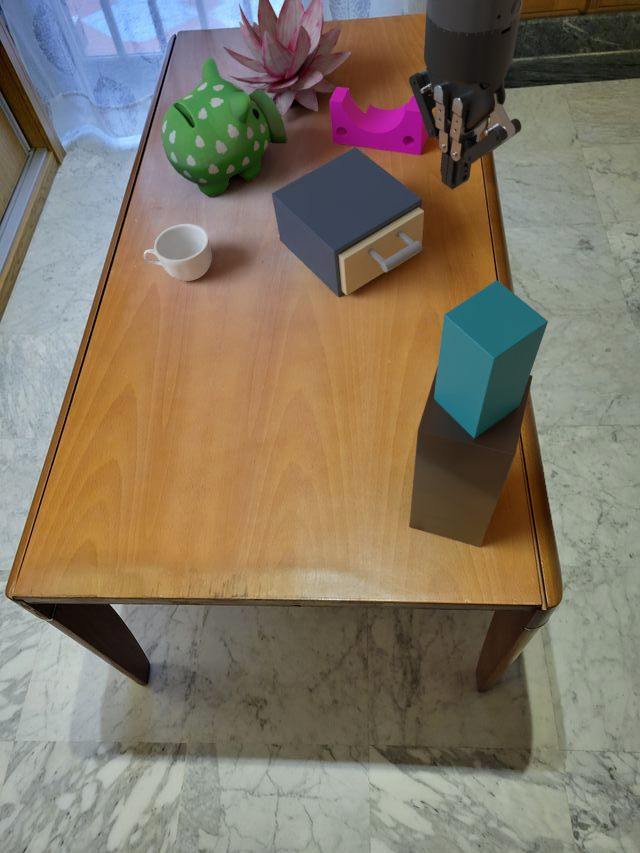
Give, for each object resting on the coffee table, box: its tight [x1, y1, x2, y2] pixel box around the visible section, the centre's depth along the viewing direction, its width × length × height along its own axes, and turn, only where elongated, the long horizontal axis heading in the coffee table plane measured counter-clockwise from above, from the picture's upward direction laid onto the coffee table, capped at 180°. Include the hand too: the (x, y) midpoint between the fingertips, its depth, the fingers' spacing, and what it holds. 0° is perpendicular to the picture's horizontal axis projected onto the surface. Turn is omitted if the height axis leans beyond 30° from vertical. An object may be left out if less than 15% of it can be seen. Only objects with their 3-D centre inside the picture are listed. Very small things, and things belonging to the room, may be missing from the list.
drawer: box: [339, 207, 425, 296], centre depth 89 cm, size 18×14×7 cm
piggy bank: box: [160, 57, 288, 198], centre depth 99 cm, size 14×18×15 cm
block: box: [434, 279, 549, 438], centre depth 49 cm, size 5×5×11 cm
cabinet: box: [271, 146, 423, 298], centre depth 91 cm, size 15×15×9 cm
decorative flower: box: [223, 0, 352, 117], centre depth 108 cm, size 21×21×15 cm
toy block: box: [328, 86, 429, 156], centre depth 103 cm, size 15×6×8 cm, turn 71°
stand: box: [408, 365, 533, 548], centre depth 63 cm, size 8×8×22 cm
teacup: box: [143, 223, 213, 282], centre depth 92 cm, size 10×8×5 cm
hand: (454, 182), depth 65 cm, fingers closed
